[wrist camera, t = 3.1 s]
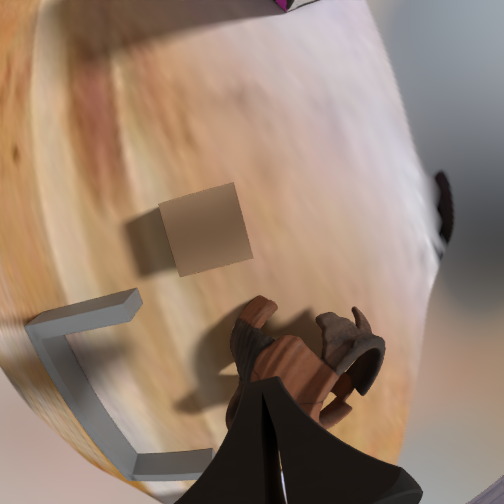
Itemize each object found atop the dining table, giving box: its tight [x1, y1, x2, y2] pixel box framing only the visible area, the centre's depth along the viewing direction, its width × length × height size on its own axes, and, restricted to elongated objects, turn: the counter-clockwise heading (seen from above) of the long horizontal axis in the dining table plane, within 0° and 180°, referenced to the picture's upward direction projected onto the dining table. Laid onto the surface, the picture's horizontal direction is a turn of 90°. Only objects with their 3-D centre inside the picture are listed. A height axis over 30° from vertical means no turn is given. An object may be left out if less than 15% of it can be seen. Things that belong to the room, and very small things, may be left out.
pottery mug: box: [226, 296, 386, 430], centre depth 19 cm, size 12×10×8 cm
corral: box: [24, 288, 216, 481], centre depth 19 cm, size 18×9×3 cm, turn 14°
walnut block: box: [158, 182, 253, 277], centre depth 17 cm, size 4×4×4 cm
